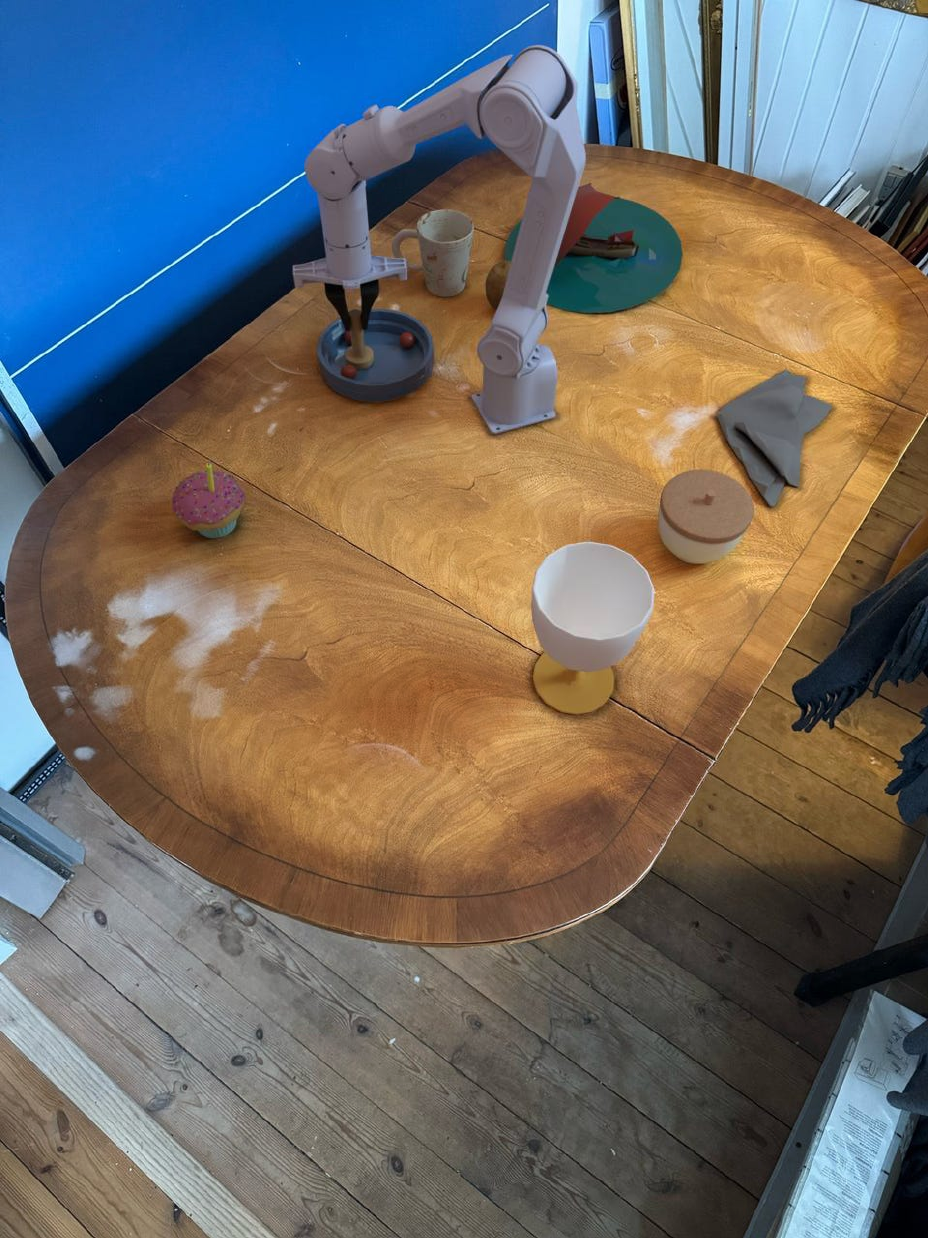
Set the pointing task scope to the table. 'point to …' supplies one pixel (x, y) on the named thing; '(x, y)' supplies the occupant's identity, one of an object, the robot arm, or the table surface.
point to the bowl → (379, 357)
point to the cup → (586, 622)
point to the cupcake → (208, 502)
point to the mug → (441, 250)
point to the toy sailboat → (610, 254)
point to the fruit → (497, 282)
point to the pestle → (358, 343)
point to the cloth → (772, 430)
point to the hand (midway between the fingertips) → (356, 325)
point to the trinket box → (703, 515)
